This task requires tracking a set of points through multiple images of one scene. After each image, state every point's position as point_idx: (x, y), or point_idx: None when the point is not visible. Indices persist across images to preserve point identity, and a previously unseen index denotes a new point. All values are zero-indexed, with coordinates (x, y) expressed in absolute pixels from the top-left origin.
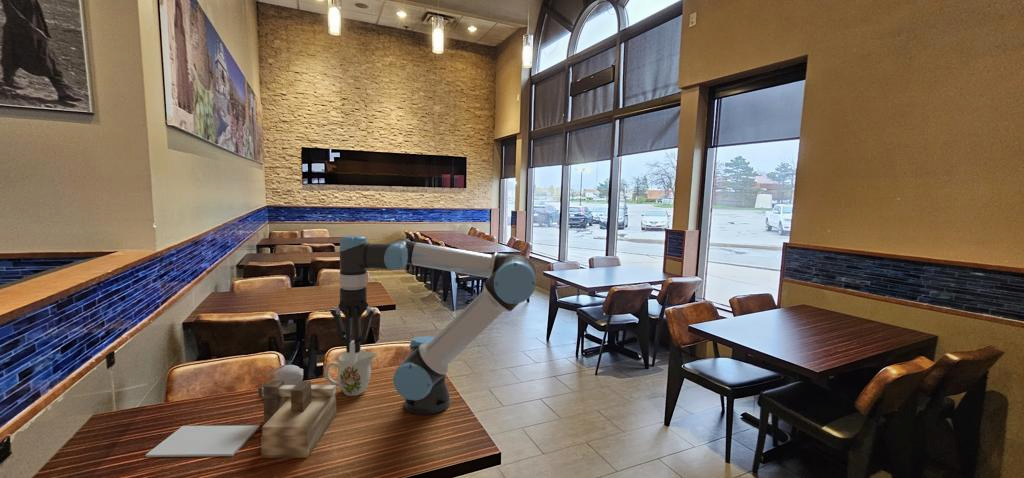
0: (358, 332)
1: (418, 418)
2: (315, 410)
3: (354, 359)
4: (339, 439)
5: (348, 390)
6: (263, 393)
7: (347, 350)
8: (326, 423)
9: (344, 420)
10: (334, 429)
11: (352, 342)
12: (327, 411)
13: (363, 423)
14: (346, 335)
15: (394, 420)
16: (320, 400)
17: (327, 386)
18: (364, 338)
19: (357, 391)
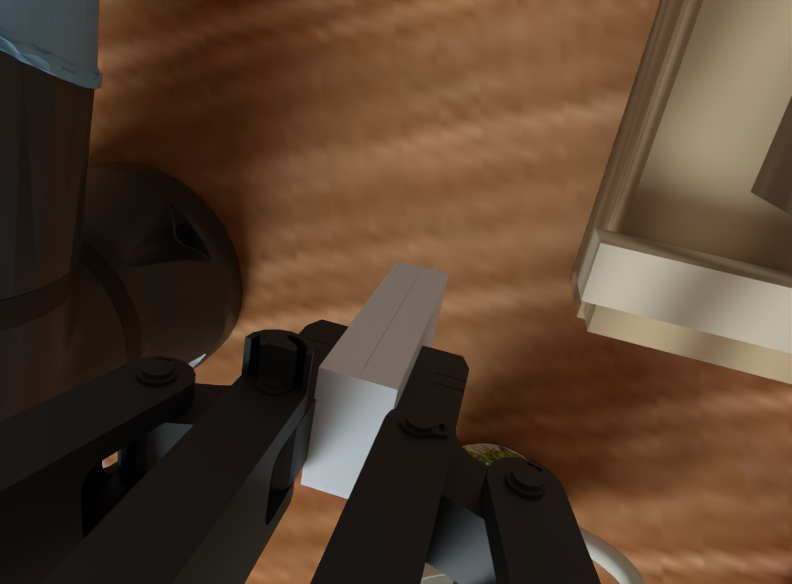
0: (148, 473)
1: (169, 143)
2: (720, 42)
3: (386, 278)
4: (541, 12)
5: (513, 455)
6: None
7: (453, 369)
8: (620, 139)
9: (524, 211)
10: (573, 128)
11: (358, 422)
12: (623, 168)
13: (425, 156)
14: (424, 506)
15: (277, 151)
16: (683, 199)
17: (645, 291)
18: (120, 374)
19: (467, 446)
